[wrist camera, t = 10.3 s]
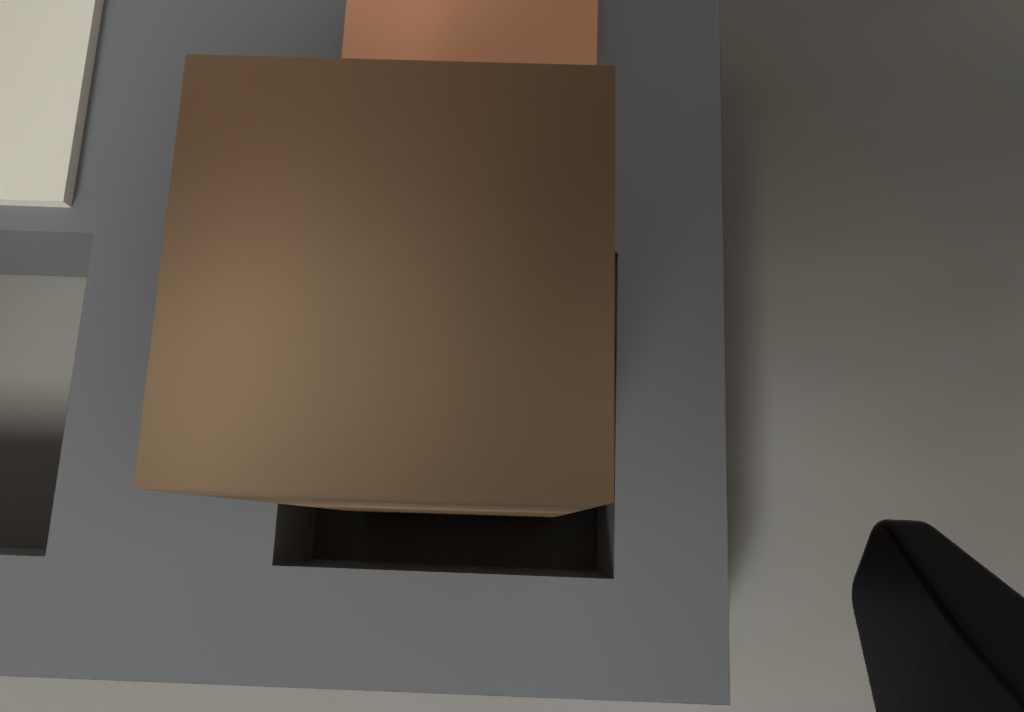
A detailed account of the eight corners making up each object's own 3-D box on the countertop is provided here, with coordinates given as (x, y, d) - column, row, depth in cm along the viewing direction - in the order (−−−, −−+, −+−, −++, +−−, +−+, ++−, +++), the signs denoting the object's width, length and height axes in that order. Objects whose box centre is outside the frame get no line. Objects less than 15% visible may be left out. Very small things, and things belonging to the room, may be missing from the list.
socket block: (692, 674, 17) (734, 708, 14) (-274, 635, 17) (-457, 660, 14) (688, 58, 20) (722, -34, 17) (-139, 29, 20) (-265, -67, 17)
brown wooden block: (550, 517, 18) (613, 503, 7) (363, 512, 18) (133, 488, 7) (554, 335, 18) (615, 65, 8) (376, 330, 18) (185, 54, 8)
